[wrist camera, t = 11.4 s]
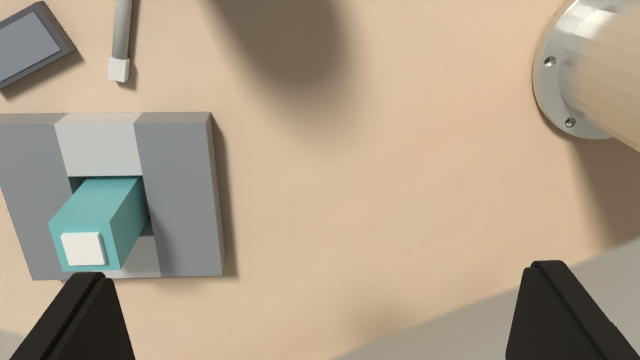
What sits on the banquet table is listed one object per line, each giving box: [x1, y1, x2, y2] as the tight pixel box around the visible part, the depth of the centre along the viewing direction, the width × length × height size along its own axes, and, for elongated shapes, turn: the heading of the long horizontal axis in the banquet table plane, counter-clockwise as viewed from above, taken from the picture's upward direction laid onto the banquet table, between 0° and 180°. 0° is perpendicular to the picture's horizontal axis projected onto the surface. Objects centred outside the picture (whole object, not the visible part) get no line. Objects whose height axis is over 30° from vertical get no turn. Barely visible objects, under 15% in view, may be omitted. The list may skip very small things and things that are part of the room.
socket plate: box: [0, 112, 226, 280], centre depth 38 cm, size 16×14×2 cm
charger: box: [48, 175, 150, 272], centre depth 35 cm, size 4×4×8 cm
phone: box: [0, 1, 77, 89], centre depth 33 cm, size 7×4×1 cm, turn 115°
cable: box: [107, 0, 132, 83], centre depth 32 cm, size 11×1×1 cm, turn 165°
